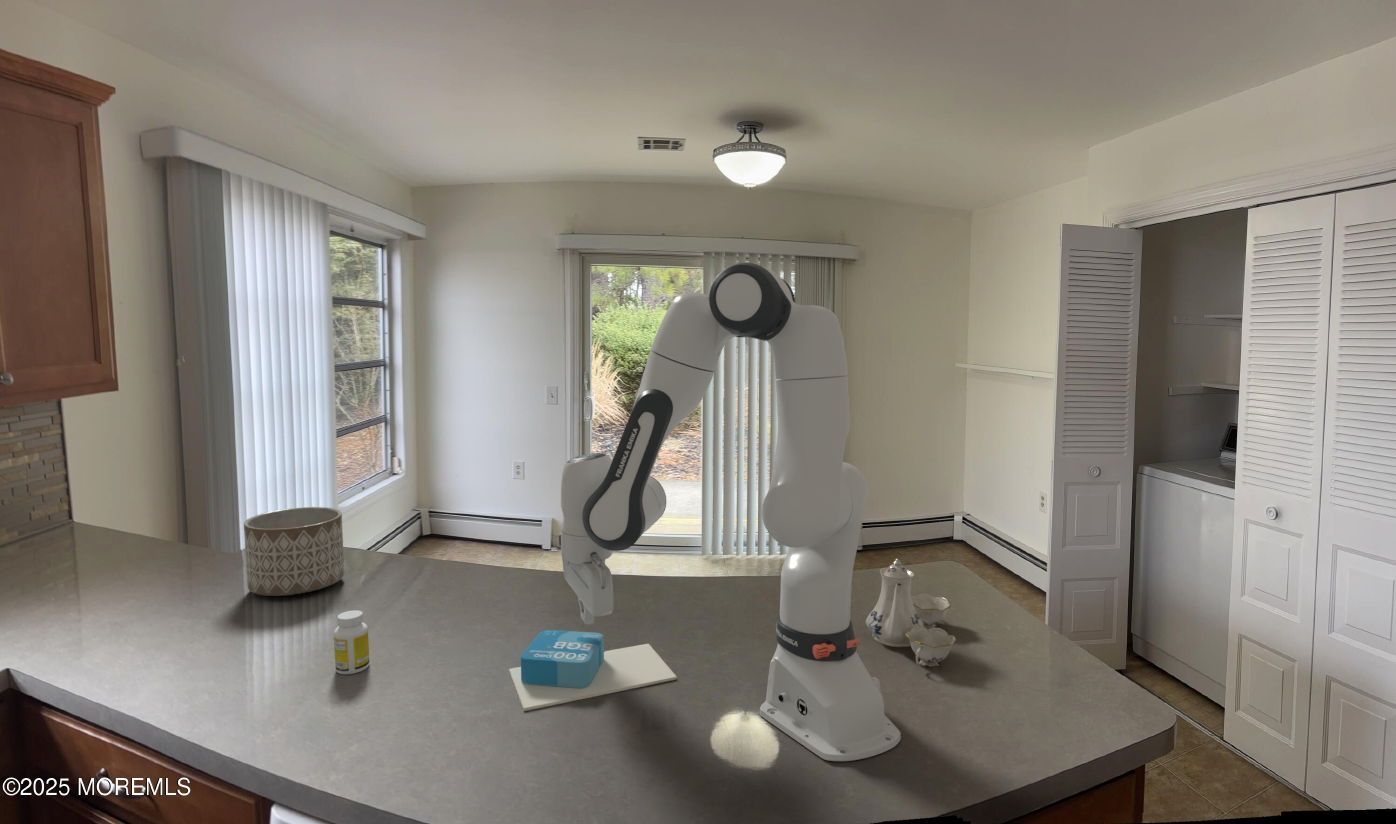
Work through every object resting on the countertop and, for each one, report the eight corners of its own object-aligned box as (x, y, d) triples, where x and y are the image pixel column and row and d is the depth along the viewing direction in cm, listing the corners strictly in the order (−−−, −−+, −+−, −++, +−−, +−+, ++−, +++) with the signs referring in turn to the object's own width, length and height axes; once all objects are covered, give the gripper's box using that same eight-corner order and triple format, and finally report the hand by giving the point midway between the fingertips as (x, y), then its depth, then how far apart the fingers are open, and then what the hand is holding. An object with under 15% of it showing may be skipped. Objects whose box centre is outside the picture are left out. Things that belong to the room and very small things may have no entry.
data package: (605, 632, 126) (587, 663, 114) (605, 656, 127) (587, 689, 115) (542, 628, 128) (517, 658, 116) (542, 652, 128) (518, 684, 116)
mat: (676, 679, 120) (676, 676, 120) (523, 711, 109) (523, 708, 109) (648, 646, 132) (648, 643, 132) (509, 671, 122) (509, 668, 122)
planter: (262, 576, 167) (258, 509, 165) (351, 569, 172) (348, 504, 171) (235, 607, 148) (231, 532, 147) (336, 597, 154) (332, 525, 152)
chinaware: (962, 688, 122) (978, 597, 119) (865, 668, 125) (879, 580, 123) (941, 623, 149) (953, 549, 147) (862, 608, 152) (873, 535, 150)
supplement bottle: (370, 658, 126) (368, 606, 125) (368, 672, 121) (366, 618, 120) (337, 663, 124) (334, 610, 123) (333, 677, 119) (330, 622, 118)
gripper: (622, 560, 113) (623, 642, 115) (589, 528, 132) (589, 599, 133) (585, 565, 111) (585, 648, 112) (556, 532, 129) (557, 604, 131)
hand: (587, 621), depth 123 cm, fingers closed
